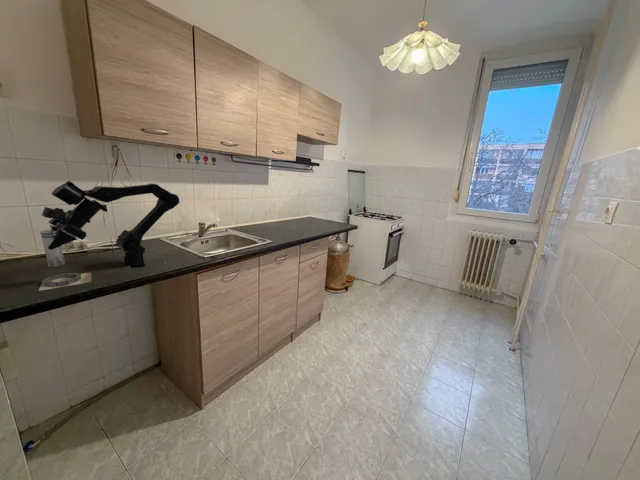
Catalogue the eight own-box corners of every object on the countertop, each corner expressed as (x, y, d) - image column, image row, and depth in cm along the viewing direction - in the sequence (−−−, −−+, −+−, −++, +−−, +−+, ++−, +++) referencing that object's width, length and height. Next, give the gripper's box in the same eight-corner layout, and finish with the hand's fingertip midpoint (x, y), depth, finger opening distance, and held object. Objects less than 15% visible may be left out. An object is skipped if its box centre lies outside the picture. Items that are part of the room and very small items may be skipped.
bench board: (91, 274, 99) (91, 272, 99) (91, 284, 91) (91, 281, 91) (43, 282, 91) (43, 279, 91) (38, 293, 83) (38, 290, 83)
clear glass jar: (63, 261, 93) (56, 229, 90) (66, 264, 91) (59, 231, 88) (46, 264, 90) (38, 231, 87) (50, 267, 87) (41, 233, 84)
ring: (81, 274, 97) (81, 271, 97) (80, 282, 90) (80, 279, 90) (46, 279, 91) (45, 276, 91) (42, 288, 84) (41, 285, 84)
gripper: (51, 196, 92) (12, 230, 86) (67, 201, 83) (25, 239, 77) (83, 215, 101) (50, 247, 95) (101, 221, 91) (65, 258, 85)
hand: (47, 247), depth 88 cm, fingers closed on clear glass jar, 4 cm apart
